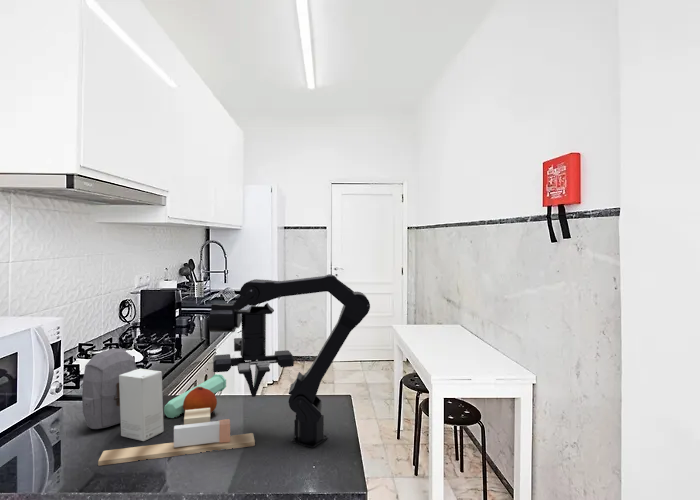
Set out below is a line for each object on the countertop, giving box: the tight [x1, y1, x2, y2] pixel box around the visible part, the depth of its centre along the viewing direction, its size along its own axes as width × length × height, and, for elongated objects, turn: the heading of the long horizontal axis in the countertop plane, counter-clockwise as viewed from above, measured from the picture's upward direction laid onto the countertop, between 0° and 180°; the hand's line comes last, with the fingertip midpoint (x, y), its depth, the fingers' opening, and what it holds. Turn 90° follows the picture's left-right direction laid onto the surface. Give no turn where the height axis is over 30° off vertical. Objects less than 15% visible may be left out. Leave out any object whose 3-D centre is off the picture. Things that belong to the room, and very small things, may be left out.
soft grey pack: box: [81, 348, 138, 430], centre depth 117 cm, size 15×8×20 cm, turn 156°
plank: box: [97, 432, 256, 467], centre depth 102 cm, size 33×5×1 cm, turn 108°
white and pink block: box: [173, 418, 231, 447], centre depth 104 cm, size 12×3×4 cm, turn 108°
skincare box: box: [119, 368, 164, 442], centre depth 111 cm, size 8×7×16 cm
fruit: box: [183, 386, 218, 414], centre depth 123 cm, size 9×9×8 cm
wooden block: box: [183, 408, 211, 425], centre depth 109 cm, size 6×6×6 cm
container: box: [163, 373, 227, 419], centre depth 133 cm, size 6×6×25 cm
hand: (253, 396), depth 107 cm, fingers closed
